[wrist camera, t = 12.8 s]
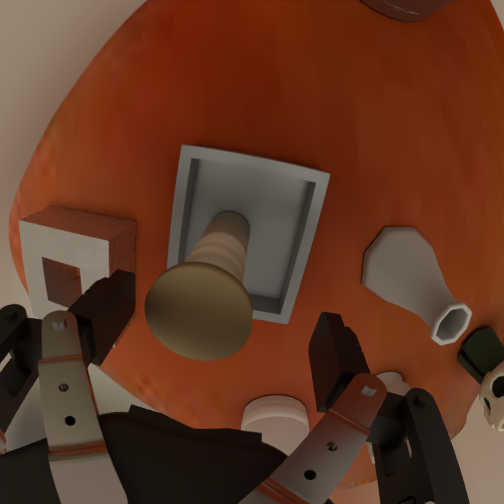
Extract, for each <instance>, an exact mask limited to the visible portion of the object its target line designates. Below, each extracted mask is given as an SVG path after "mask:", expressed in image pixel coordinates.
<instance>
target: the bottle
mask: <svg viewBox="0 0 504 504" xmlns="http://www.w3.org/2000/svg"><path fill="white" fill-rule="evenodd" d="M241 430H244V431H251V432H259V433H262V442H264V443H267V444H269V445H271V446H274V447H275V448H277V449H279V450H281V451H282V452H284V453H285V454H286V455H287V456H289V455H290V454H291V453H292V452H293V451H294V450H295V449H296V448H297V447H298V446H299V445H300V443H301V442H302V441H303V440H304V439H305V438H306V437H307V435H308V434H309V433H308V432H309V427H308V417H307V415H306V407H305V406H304V405H303V404H302V402H300V401H298V400H296V399H295V398H292V397H287V396H283V395H271V396H266V397H261V398H258V399H256V400H254V401H252V402H250V403H249V404H248V405H247V406H246V407H245V409H244V412H243V419H242V424H241Z"/></svg>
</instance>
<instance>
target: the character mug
mask: <svg viewBox="0 0 504 504" xmlns="http://www.w3.org/2000/svg"><path fill="white" fill-rule="evenodd" d="M463 350H464V351H465V352H466V356H465V359H464V358H463V356H462V355H461V354H460V355H459V362H460V363H461V365H462V366H463V367H464V368H465V369H466V370H467V371H468V372H469V374H470V375H471V376H472V377H473V378H474V379H475V380H476V381H477V382H478V383H479V384H480V385H481V386H480V389H479V400H480V402H481V404H482V406H483V407H484V409H485V411H484V416H485V418H486V420H487V422H488V423H489V425H490V427H491V428H494V427H495V428H496V429H497V430H498V431H499V432H502V431H504V347H503V345H502V343H501V341H500V340H499V338H498V337H497V335H496V334H495V332H494V331H493V329H489V328H486V329H482V330H479V331H477V332H476V333H475V334H474V335H472V336H471V337H470V338H469V339H468V341H467V342H466V343H465V344H464V346H463Z"/></svg>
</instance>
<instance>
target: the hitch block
mask: <svg viewBox="0 0 504 504" xmlns="http://www.w3.org/2000/svg"><path fill="white" fill-rule="evenodd" d="M136 223H137V221H132V220H126V219H121V218H116V217H111V216H105V215H100V214H95V213H89V212H84V211H78V210H73V209H68V208H62V207H57V206H50V207H47V208H45V209H43V210H40V211H38V212H36V213H33V214H31V215H29V216H27V217H24V218H22V219H20V220H19V228H20V239H21V248H22V256H23V263H24V270H25V276H26V281H27V287H28V292H29V296H30V301H31V305H32V310H33V314H34V316H35V317H37V318H40V319H42V320H43V318H44V317H45V316H46V315H47V314H49V313H50V312H53V311H57V310H65V311H67V309H68V308H69V307H70V306H71V305H72V304H73V303H74V302H75V301H76V300H77V299H78V298H79V297H80V296H81V295H82V294H84V292H85V291H86V290H87V289H89V287H90V286H91V285H92V284H93V283H94V282H95V281H97V280H100V279H102V278H104V277H107V278H108V277H109V276H110V275H111V274H112V273H113V272H114V271H116V270H117V269H121V270H125V271H129V272H133V273H134V274H135V241H136ZM74 266H75V267H78V268H80V275H81V278H77V277H75V270H74ZM134 318H135V310H134V314H133V316H132V318H131V319H130V321H129V322H128V324H127V325H126V327H125V328H124V330H123V331H122V333H121V334H120V336H119V337H118V339H117V340H116V342H115V344H114V345H113V347H116V346H117V344H118V342H119V341H120V339H121V338H122V336H123V335H124V333H125V332H126V330H127V328H128V327H129V325H130V324H131V322H132V321H133V319H134Z"/></svg>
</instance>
